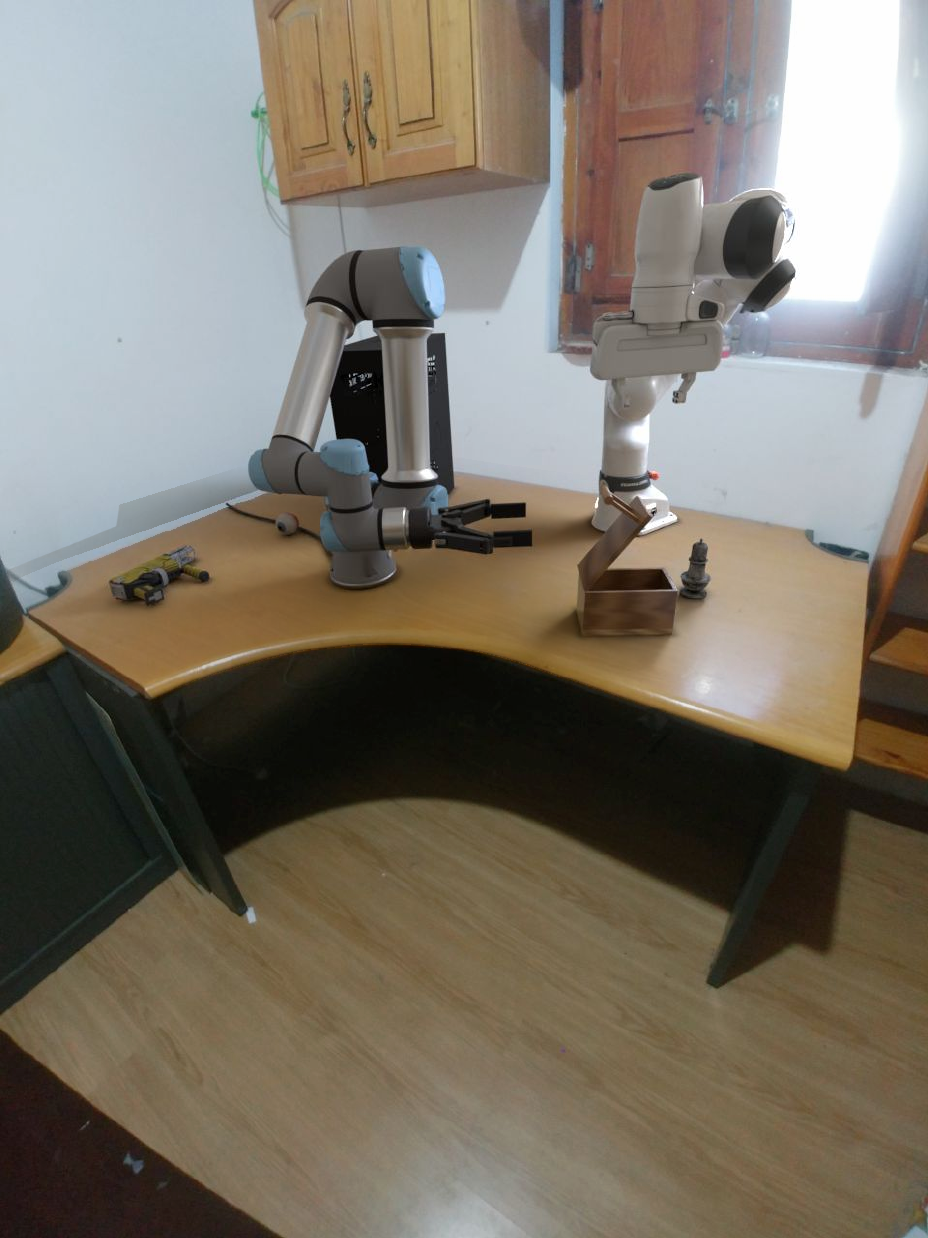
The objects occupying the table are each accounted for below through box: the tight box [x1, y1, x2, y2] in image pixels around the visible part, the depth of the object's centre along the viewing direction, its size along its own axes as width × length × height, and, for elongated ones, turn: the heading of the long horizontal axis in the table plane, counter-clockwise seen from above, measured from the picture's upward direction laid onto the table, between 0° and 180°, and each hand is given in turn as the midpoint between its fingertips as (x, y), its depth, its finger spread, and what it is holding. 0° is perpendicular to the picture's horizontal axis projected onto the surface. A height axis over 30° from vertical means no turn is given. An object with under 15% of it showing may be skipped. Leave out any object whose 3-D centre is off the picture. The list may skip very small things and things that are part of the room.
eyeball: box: [275, 511, 300, 536], centre depth 163 cm, size 6×6×6 cm
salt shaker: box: [679, 537, 712, 599], centre depth 122 cm, size 6×6×12 cm
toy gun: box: [108, 544, 210, 607], centre depth 141 cm, size 5×24×15 cm
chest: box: [576, 566, 679, 637], centre depth 114 cm, size 16×10×9 cm, turn 87°
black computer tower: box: [329, 332, 455, 496], centre depth 168 cm, size 38×20×45 cm, turn 167°
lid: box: [576, 485, 653, 591], centre depth 107 cm, size 17×10×8 cm
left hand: (529, 523), depth 107 cm, fingers open, 13 cm apart
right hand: (651, 405), depth 96 cm, fingers open, 8 cm apart
